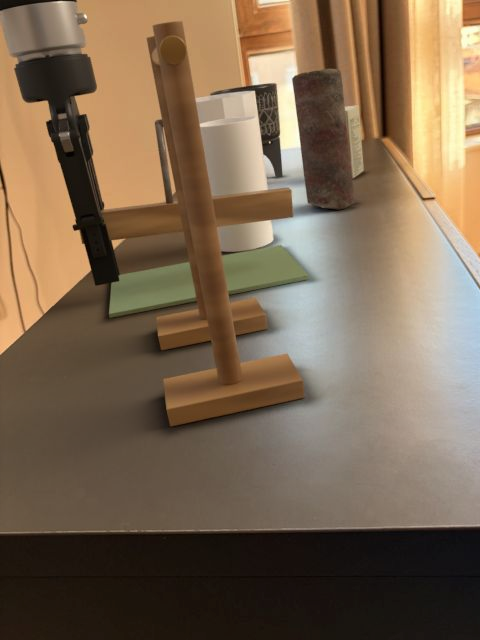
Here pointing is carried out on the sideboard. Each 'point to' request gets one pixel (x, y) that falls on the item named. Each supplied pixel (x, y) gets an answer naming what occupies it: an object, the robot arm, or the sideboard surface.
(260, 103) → the planter
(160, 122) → the hanger
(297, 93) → the candle
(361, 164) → the cosmetic box
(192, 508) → the sideboard surface
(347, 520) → the sideboard surface
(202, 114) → the container
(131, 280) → the mat
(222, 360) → the rail stand
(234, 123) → the cup
